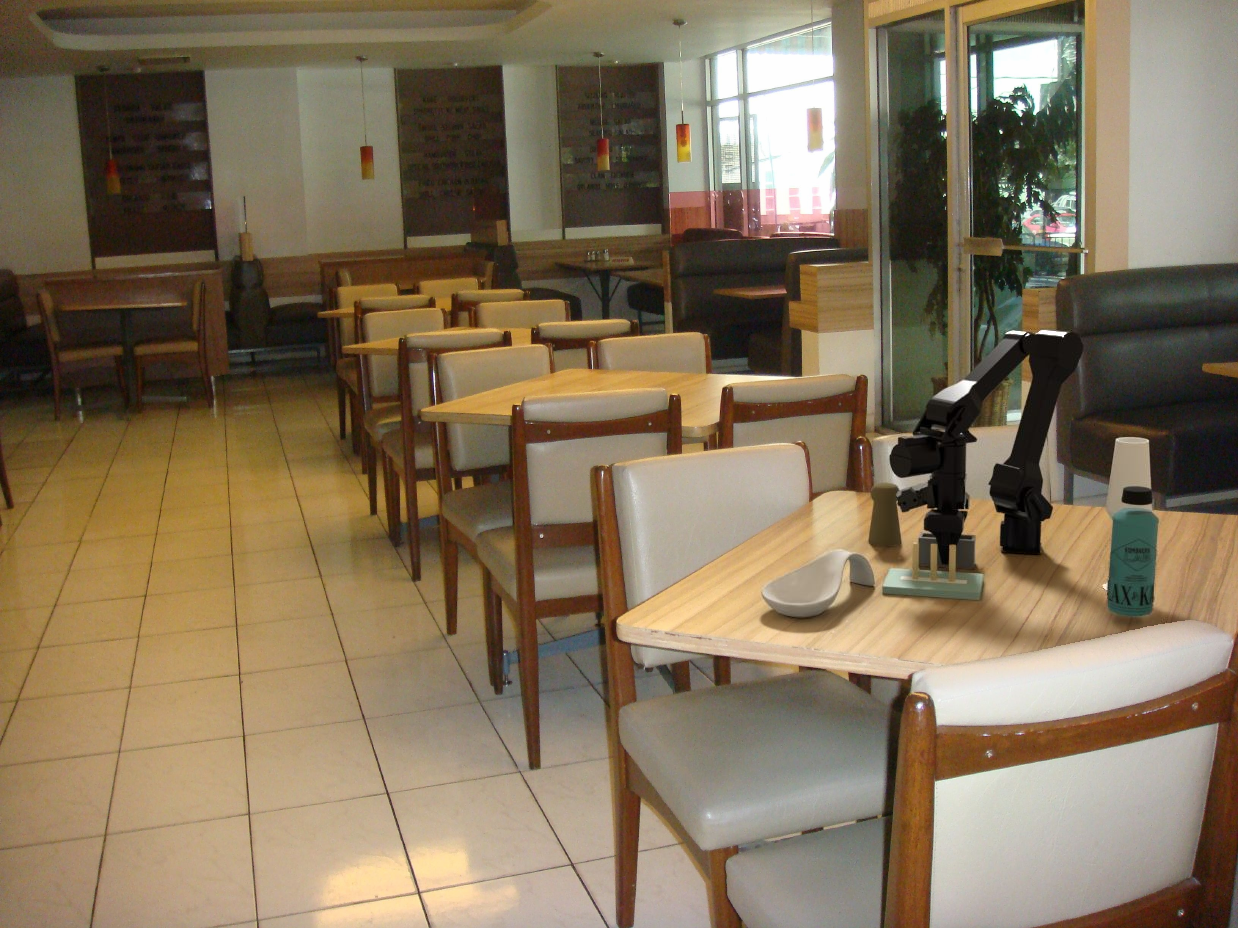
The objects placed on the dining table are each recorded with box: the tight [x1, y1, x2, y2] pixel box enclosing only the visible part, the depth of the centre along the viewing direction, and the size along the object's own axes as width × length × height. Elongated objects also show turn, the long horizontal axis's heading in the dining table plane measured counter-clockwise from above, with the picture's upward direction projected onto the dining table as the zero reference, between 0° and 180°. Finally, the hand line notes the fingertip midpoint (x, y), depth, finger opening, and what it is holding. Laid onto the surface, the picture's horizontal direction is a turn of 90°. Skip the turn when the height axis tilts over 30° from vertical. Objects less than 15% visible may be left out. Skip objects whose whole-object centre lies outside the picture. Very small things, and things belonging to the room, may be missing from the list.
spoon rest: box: [760, 548, 876, 618], centre depth 191 cm, size 24×12×7 cm, turn 137°
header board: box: [881, 542, 984, 601], centre depth 195 cm, size 15×10×7 cm, turn 70°
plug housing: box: [917, 531, 977, 570], centre depth 207 cm, size 9×4×5 cm, turn 70°
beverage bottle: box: [1105, 486, 1160, 617], centre depth 176 cm, size 6×7×20 cm
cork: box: [867, 482, 903, 547], centre depth 222 cm, size 6×6×11 cm
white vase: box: [1102, 436, 1153, 591], centre depth 189 cm, size 7×7×24 cm
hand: (946, 558), depth 208 cm, fingers open, 6 cm apart
